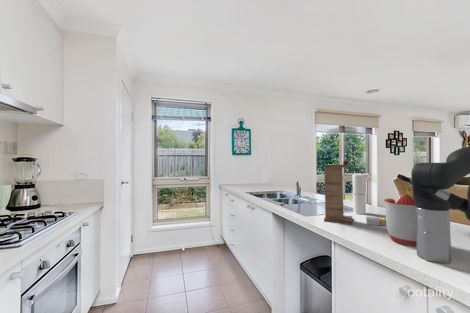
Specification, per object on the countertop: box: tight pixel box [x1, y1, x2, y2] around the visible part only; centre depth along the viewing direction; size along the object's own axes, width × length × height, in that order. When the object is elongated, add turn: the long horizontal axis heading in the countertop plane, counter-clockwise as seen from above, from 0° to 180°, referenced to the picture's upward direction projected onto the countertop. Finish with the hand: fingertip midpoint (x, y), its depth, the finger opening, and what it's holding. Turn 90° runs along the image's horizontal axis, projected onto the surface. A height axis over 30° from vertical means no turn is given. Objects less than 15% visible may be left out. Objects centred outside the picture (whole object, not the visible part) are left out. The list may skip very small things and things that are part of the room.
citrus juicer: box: [384, 193, 417, 247], centre depth 97 cm, size 16×17×20 cm
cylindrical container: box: [351, 173, 367, 215], centre depth 149 cm, size 7×7×25 cm
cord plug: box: [365, 216, 387, 227], centre depth 120 cm, size 20×5×3 cm, turn 61°
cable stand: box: [323, 160, 353, 225], centre depth 132 cm, size 13×14×34 cm
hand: (399, 176), depth 118 cm, fingers open, 8 cm apart
